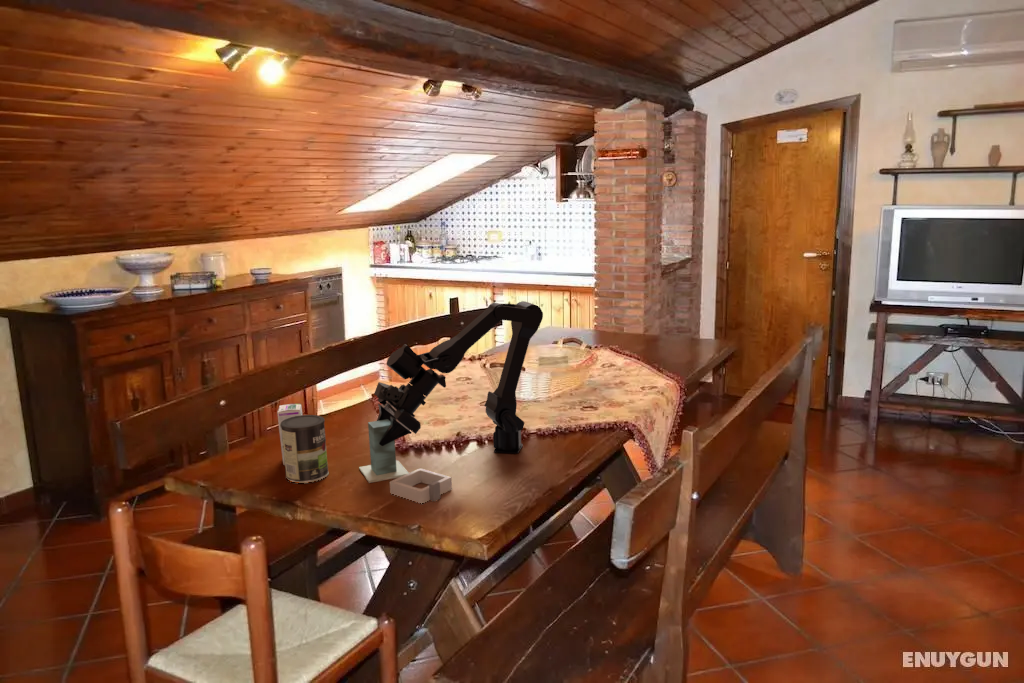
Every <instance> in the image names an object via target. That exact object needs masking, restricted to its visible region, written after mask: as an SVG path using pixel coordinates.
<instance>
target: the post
mask: <svg viewBox="0 0 1024 683" xmlns="http://www.w3.org/2000/svg"><path fill="white" fill-rule="evenodd" d="M390 424H391V422H390V421H389V420H388V419H386V420H379V421H377V420H373V421H368V422H367V428H368V438H369V439H368V440H369V442H368V444H369V454H370V455H369V457H370V465H371V469H372V470H373V471H374V473H375V474H376V475H381V474H386V473H391V472H397V469H396V460H397V458H396V457H397V456H396V440H394V441H392V442H390V443H388V444H386V445H384V446H381V445H380V444H379V442H380V441H381V439H382V437H383V436H384V434H385V432H386V431H387V429H388V428H389V426H390Z"/></svg>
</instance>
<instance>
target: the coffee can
mask: <svg viewBox="0 0 1024 683" xmlns="http://www.w3.org/2000/svg"><path fill="white" fill-rule="evenodd" d="M325 422H326V421H325V418H324V417H323V416H321V415H317V414H302V415H301V416H294V417H291V418H288V419H285V420H283V421H282V422H281V424H280V425H281V429H282V439H283V449H284V460H285V465H284V467H285V479H286V478H287V479H288V480H290V481H292V482H299V483H304V484H309V483H308V482H312V483H315V482H314V481H316V482H319V481H322V480H324V479H326V478H327V477H328V476H329V474H330V473H329V464H328V452H327V444H326V443H327V442H326V441H327V439H326V430H325V429H326V428H325V427H326V426H325ZM325 477H326V478H325ZM323 478H324V479H323ZM321 479H322V480H321ZM318 480H319V481H318Z"/></svg>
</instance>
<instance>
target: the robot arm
mask: <svg viewBox="0 0 1024 683" xmlns="http://www.w3.org/2000/svg"><path fill="white" fill-rule="evenodd" d="M543 318H544V313H543V311H542V309H541V307H540V306H538V305H536V304H534V303H531V302H528V301H526V300H525V301H523V300H521V301H519V302H517V303H515V304H514V303H498V302H492V303H491V304H489V305H488V306H487V308H486V309H485V310H484V311H483V312H481V313H480V314H479V315H478V316H477V317H476V318H475V319H473V320H472V321H471V322H469V324H468V325H466V326H465V327H464V328H463V329H462V330H460V332H459V333H457V334H456V335H455V336H453V337H452V338H449V339H447V340H445V341H442V342H440V343H439V344H438V345H436V346H434V347H433V348H431V349H430V351H428V352H425V353H424V352H423V353H420V354H417V353H416V352H415V351H414V350H412V348H411V347H410V346H409V345H407V344H403V345H402V346H401V347H399V348H397V349H396V350H395V351H393V352H392V353H391V354H390V355H389V357H388V358H387V362H386V366H387V367H389V368H390V369H391V370H392V371H393V372H394V373H396V374H397V375H398V376H400V377H401V378H402V379H403V380H408V379H410V380H409V382H408V383H407V384H406V385H405V384H401V385H400V386H399V387H398V386H394V385H392V384H386V383H384V382H380V381H378V383H377V385H376V388H375V391H374V392H373V395H374V396H376V397H377V402H379V403H377V404H378V405H377V406H378V410H379V413H378V416H377V419H376V421H379V420H386V419H388V420H389V421H390V422H391V424H390V426H389V428H388V429H387V431H386V432H385V434H384V436H383V437H382V439H381V441H380V442H379V444H380V445H381V446H384V445H386V444H388V443H390V442H392V441H394V440H395V441H396V440H398V439H400V438H402V437H405V436H407V435H408V434H410V435H411V434H412V433H414V434H415V435H416V434H417V433H418V432H419V431H420V429H421V428H422V427H421V422H420V421H419V420H418V419H417V418H416V414H414V413H416V411H417V410H418V408H419V407H420V406H421V405H422V406H425V405H426V404H427V402H426V401H425V400H426V399H427V397H428V396H429V395H430V394H431V392H433V390H434V389H435V388H436V386H437V385H440V386H441V387H443V388H446V387H447V384H446V375H444V374H451V373H452V372H453V371H454V370H455V369H456V368H457V367H458V366H459V365H460V363H461V362H462V360H463V359H464V356H465V355H466V353H467V352H468V351H469V349H471V347H473V346H474V345H475V344H476V343H477V342H478V341H479V340H480V339H482V338H483V337H484V336H485V335H486V334H487V333H488V332H490V331H491V330H492V329H493V328H494V327H495V326H497V324H499V323H500V322H501V321H509V322H510V325H511V326H510V327H511V339H510V342H509V345H508V349H507V353H506V356H505V360H504V363H503V368H502V370H501V376H500V378H499V382H498V385H497V388H496V389H495V390H494V391H490V390H489V391H488V393H487V396H486V402H485V403H484V405H483V406H484V407H485V413H486V416H487V417H488V418H489V419H490V420H492V423H493V424H494V425H496V426H495V428H494V431H493V433H492V434H493V435H492V439H493V448H494V449H493V450H494V452H493V453H498V454H499V453H503V454H519V452H520V451H521V449H522V448H523V446H524V444H523V443H522V431H523V429H524V426H525V421H524V420H522V419H521V417H519V416H518V415H516V414H517V406H518V404H517V395H516V394H517V393H516V391H517V389H518V388H517V387H518V383H519V381H520V376H521V373H522V369H523V366H524V362H525V358H526V355H527V352H528V348H529V344H530V342H531V341H530V340H531V339H532V337H534V335H535V334H536V333H537V331H538V330H539V328H540V325H541V323H542V322H543ZM423 365H424V366H425V367H427V368H429V369H427V370H426V368H425V367H423ZM435 370H436V371H437V372H440V373H442V374H438V373H437V372H436V371H435Z"/></svg>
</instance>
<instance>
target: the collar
mask: <svg viewBox="0 0 1024 683" xmlns="http://www.w3.org/2000/svg"><path fill="white" fill-rule="evenodd" d="M452 480H453V479H452V477H451V476H448V475H446V474H445V475H444V474H442V473H439V472H434V471H431V470H428V469H424V468H421V467H420V468H417V469H415V470H412V471H410V472H409V473H408V474H406V475H404V476H401V477H398V478H394V479H393V480H391V481H389V492H390V493H391V494H390V495H392V494H394V495H393V496H395V495H397V496H396V497H398V496H400V497H399V498H401V497H403V498H402V499H404V498H406V499H405V500H407V499H409V500H408V501H410V500H412V501H411V502H413V501H416V502H415V503H417V502H418V504H420V503H421V504H420V505H423V504H422V503H424V504H425V502H426V503H428V502H430V501H429V500H432V501H431V502H433V501H435V502H437V501H438V499H439V500H441V494H442V495H443V493H444V494H445V493H448V492H450V491H451V490H453V483H452ZM420 483H422V484H426V485H427V486H425V487H422V488H420V487H417V486H416V485H418V484H420ZM415 486H416V487H415ZM436 500H437V501H436ZM427 501H428V502H427Z"/></svg>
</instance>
